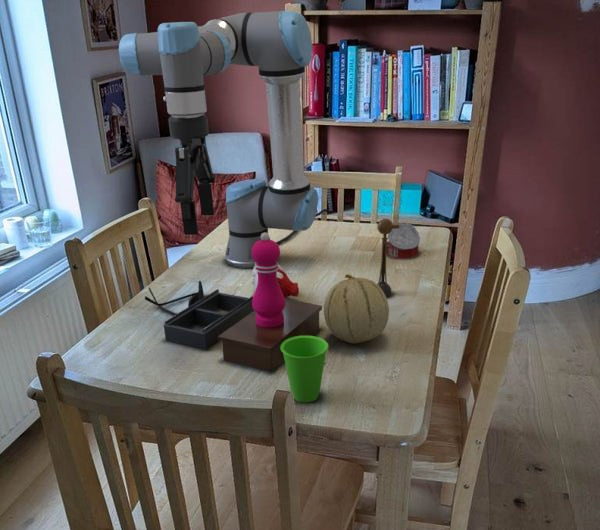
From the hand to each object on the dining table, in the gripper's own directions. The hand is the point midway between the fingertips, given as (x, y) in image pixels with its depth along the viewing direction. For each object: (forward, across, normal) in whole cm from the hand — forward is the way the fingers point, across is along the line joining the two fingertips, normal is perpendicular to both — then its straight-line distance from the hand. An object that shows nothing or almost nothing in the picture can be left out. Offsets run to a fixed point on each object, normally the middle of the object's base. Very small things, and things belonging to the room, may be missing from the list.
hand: (199, 224), depth 134 cm
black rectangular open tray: (+27, -6, -1) cm, 27 cm away
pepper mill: (+21, +3, +14) cm, 26 cm away
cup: (+27, +24, +25) cm, 44 cm away
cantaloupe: (+27, -2, +33) cm, 43 cm away
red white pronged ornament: (+27, -24, +11) cm, 38 cm away
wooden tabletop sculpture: (+27, -29, +39) cm, 56 cm away
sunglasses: (+27, -17, -14) cm, 35 cm away
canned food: (+28, -62, +44) cm, 81 cm away
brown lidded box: (+27, +2, +15) cm, 31 cm away
